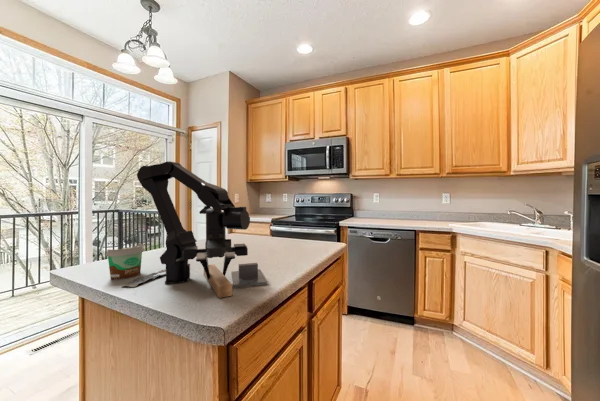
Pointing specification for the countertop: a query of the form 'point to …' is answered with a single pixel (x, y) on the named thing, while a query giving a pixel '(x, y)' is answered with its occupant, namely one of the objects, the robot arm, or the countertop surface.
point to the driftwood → (144, 279)
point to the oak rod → (219, 282)
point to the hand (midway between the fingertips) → (216, 278)
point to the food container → (125, 262)
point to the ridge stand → (248, 276)
